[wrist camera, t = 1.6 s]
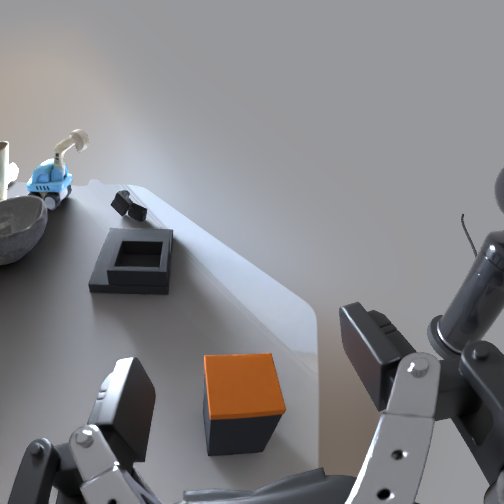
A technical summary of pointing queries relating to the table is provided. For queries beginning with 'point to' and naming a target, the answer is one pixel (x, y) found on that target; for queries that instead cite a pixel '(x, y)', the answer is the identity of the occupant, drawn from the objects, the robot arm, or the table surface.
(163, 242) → the dark square socket base
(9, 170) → the stone
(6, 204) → the bowl
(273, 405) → the black and orange block
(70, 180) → the toy excavator
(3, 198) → the plant pot
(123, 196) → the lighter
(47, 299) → the table surface
